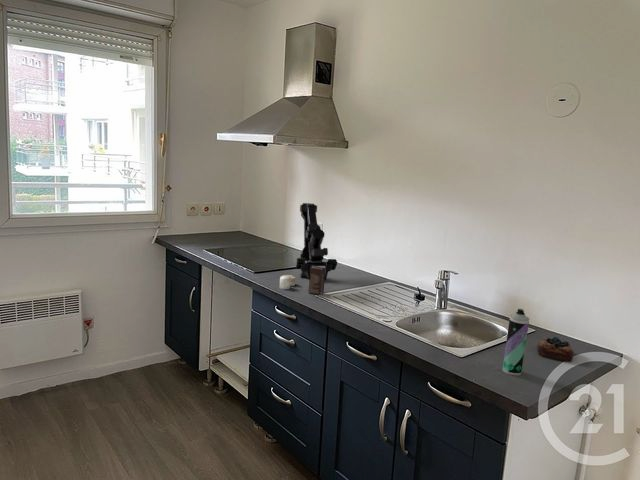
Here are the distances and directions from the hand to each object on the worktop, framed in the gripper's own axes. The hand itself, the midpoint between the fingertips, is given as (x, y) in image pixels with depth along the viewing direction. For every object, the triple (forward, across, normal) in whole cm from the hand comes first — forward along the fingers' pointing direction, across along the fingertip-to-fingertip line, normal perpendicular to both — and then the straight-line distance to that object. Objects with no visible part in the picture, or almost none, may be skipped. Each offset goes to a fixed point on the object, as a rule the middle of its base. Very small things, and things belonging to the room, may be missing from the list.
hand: (317, 279), depth 217 cm
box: (+4, 0, +6) cm, 7 cm away
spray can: (+62, +47, -52) cm, 94 cm away
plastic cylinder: (-2, -14, +11) cm, 18 cm away
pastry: (+53, +72, -43) cm, 99 cm away
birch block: (-6, -11, +16) cm, 21 cm away
